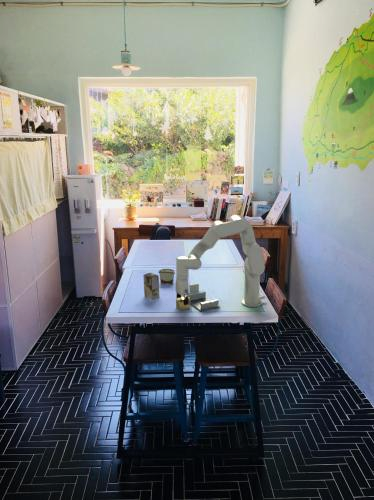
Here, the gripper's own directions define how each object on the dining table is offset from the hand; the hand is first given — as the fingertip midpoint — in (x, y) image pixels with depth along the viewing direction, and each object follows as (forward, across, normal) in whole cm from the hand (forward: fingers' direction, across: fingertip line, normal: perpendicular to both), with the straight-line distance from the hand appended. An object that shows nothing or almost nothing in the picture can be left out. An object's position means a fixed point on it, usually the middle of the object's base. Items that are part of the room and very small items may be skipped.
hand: (182, 302), depth 260 cm
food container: (+5, -48, +12) cm, 50 cm away
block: (+4, 0, 0) cm, 4 cm away
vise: (+4, 0, +14) cm, 15 cm away
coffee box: (+5, -27, -10) cm, 29 cm away
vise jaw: (+3, -9, +14) cm, 17 cm away
